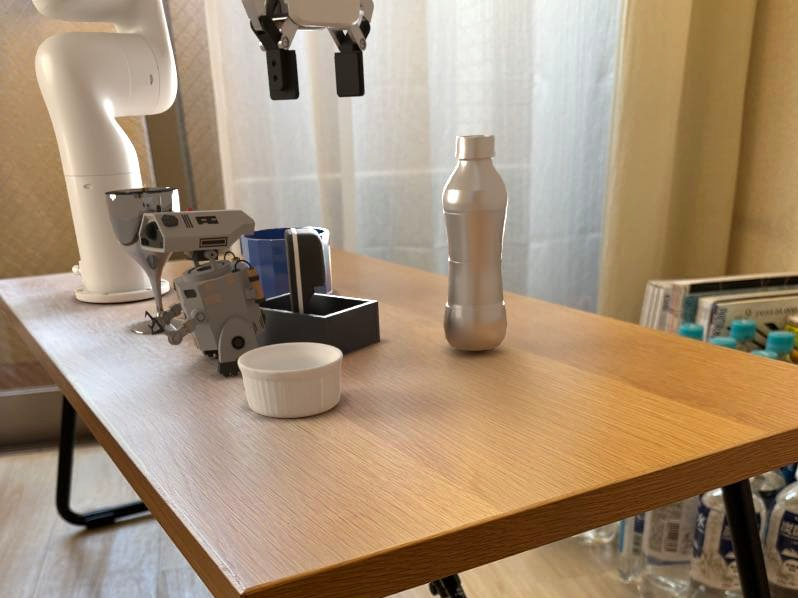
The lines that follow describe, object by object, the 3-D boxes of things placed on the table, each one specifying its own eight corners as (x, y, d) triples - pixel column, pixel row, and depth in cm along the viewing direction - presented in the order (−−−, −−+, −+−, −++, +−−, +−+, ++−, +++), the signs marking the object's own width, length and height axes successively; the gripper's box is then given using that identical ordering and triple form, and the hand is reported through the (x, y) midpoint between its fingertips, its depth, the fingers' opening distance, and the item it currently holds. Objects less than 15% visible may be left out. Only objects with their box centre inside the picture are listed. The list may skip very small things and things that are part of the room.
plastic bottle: (513, 342, 94) (517, 133, 85) (497, 359, 88) (500, 137, 79) (454, 339, 96) (452, 134, 87) (435, 356, 90) (431, 138, 81)
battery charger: (332, 347, 93) (324, 233, 88) (296, 350, 93) (285, 235, 87) (327, 332, 99) (319, 224, 94) (293, 334, 99) (283, 225, 94)
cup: (228, 300, 118) (220, 236, 114) (287, 284, 126) (282, 225, 123) (292, 308, 112) (286, 242, 108) (350, 291, 120) (346, 229, 116)
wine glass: (210, 320, 107) (192, 187, 101) (168, 336, 101) (146, 195, 94) (157, 316, 111) (136, 187, 104) (113, 331, 104) (88, 194, 97)
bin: (327, 360, 90) (324, 317, 88) (245, 346, 96) (240, 305, 94) (380, 341, 96) (378, 300, 94) (299, 328, 102) (296, 290, 100)
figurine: (147, 364, 91) (121, 208, 84) (257, 349, 95) (241, 199, 88) (160, 388, 84) (132, 219, 77) (280, 370, 87) (263, 208, 80)
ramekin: (356, 413, 75) (353, 363, 73) (250, 427, 73) (244, 375, 71) (333, 384, 82) (330, 337, 80) (237, 396, 80) (231, 348, 78)
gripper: (333, -100, 87) (345, 97, 95) (200, -126, 75) (226, 102, 82) (395, -112, 83) (403, 94, 91) (265, -142, 71) (287, 100, 78)
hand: (319, 98), depth 86 cm, fingers open, 9 cm apart
